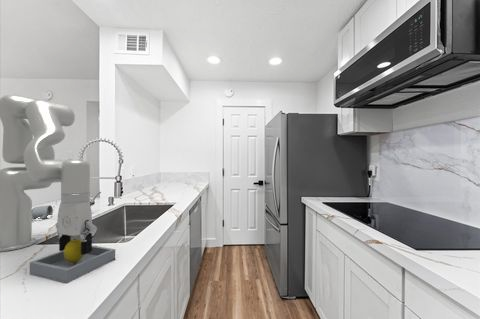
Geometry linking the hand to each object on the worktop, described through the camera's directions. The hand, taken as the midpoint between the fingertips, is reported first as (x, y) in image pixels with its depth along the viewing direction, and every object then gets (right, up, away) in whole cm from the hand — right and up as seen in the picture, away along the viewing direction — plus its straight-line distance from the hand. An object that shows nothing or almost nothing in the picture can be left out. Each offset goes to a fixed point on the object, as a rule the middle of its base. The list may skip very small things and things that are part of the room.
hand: (75, 251), depth 73 cm
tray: (0, -5, 0) cm, 5 cm away
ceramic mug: (-65, -6, +60) cm, 89 cm away
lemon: (0, -4, 0) cm, 4 cm away
